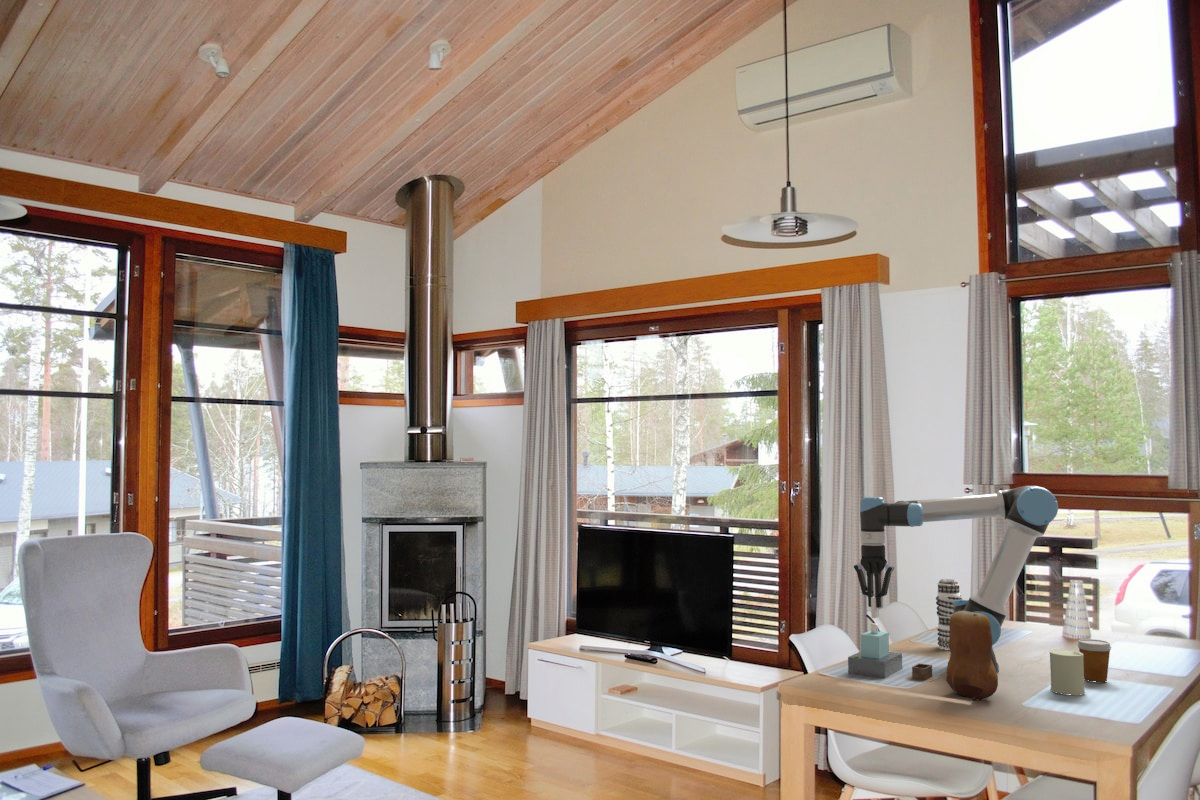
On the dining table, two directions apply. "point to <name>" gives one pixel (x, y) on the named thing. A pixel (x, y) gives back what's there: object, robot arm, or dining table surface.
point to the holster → (922, 673)
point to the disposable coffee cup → (1095, 659)
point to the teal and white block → (874, 643)
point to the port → (875, 665)
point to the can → (1067, 672)
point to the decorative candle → (946, 609)
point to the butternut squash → (971, 656)
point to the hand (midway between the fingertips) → (875, 617)
